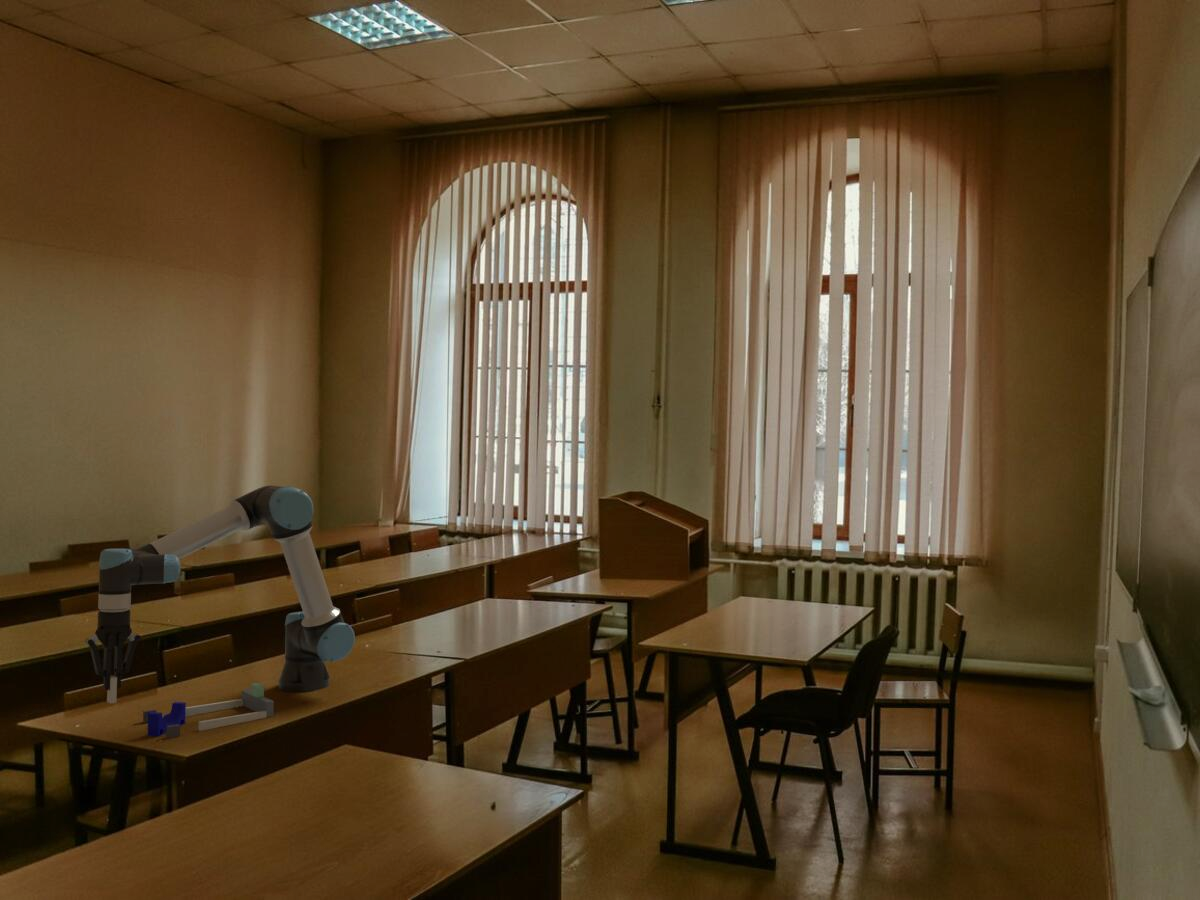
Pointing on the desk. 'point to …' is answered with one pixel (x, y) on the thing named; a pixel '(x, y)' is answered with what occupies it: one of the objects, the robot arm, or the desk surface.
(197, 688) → the desk surface
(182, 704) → the blue u-shaped block
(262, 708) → the port dock
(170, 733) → the holster stops
